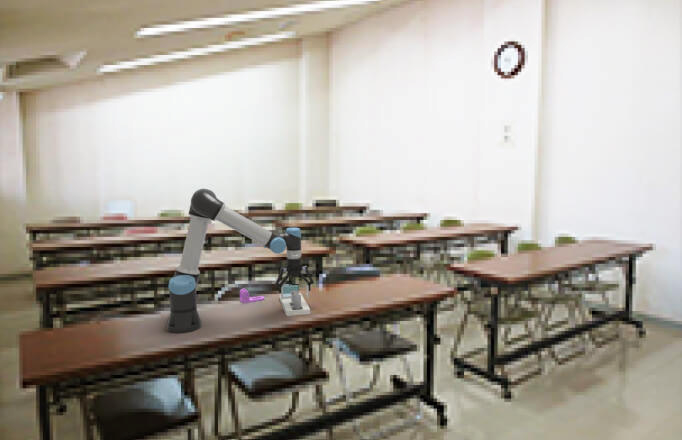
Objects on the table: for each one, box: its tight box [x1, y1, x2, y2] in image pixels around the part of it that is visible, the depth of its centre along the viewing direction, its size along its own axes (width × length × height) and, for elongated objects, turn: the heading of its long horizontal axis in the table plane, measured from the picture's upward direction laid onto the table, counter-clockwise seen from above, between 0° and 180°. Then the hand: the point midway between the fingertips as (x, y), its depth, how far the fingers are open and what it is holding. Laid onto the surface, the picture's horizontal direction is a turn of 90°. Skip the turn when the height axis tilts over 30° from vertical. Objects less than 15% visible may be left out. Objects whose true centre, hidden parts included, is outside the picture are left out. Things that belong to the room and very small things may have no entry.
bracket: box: [239, 288, 266, 305], centre depth 259 cm, size 13×6×7 cm, turn 116°
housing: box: [278, 292, 311, 317], centre depth 249 cm, size 12×30×9 cm, turn 14°
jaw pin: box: [291, 291, 300, 306], centre depth 245 cm, size 4×4×9 cm
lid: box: [282, 284, 300, 299], centre depth 258 cm, size 9×7×5 cm
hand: (294, 298), depth 245 cm, fingers open, 13 cm apart
